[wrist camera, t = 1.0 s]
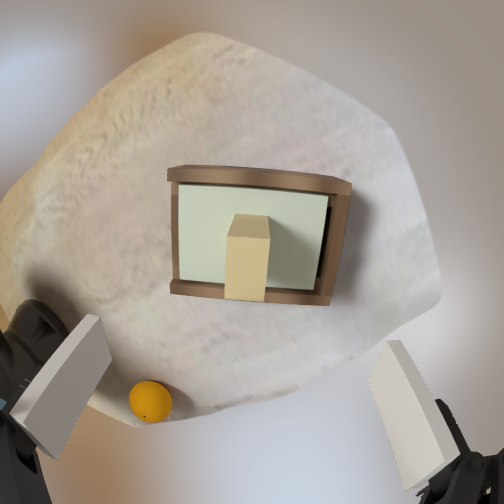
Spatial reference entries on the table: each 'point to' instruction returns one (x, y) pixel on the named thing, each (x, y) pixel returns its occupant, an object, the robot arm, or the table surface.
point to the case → (274, 180)
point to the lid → (250, 238)
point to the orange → (150, 401)
